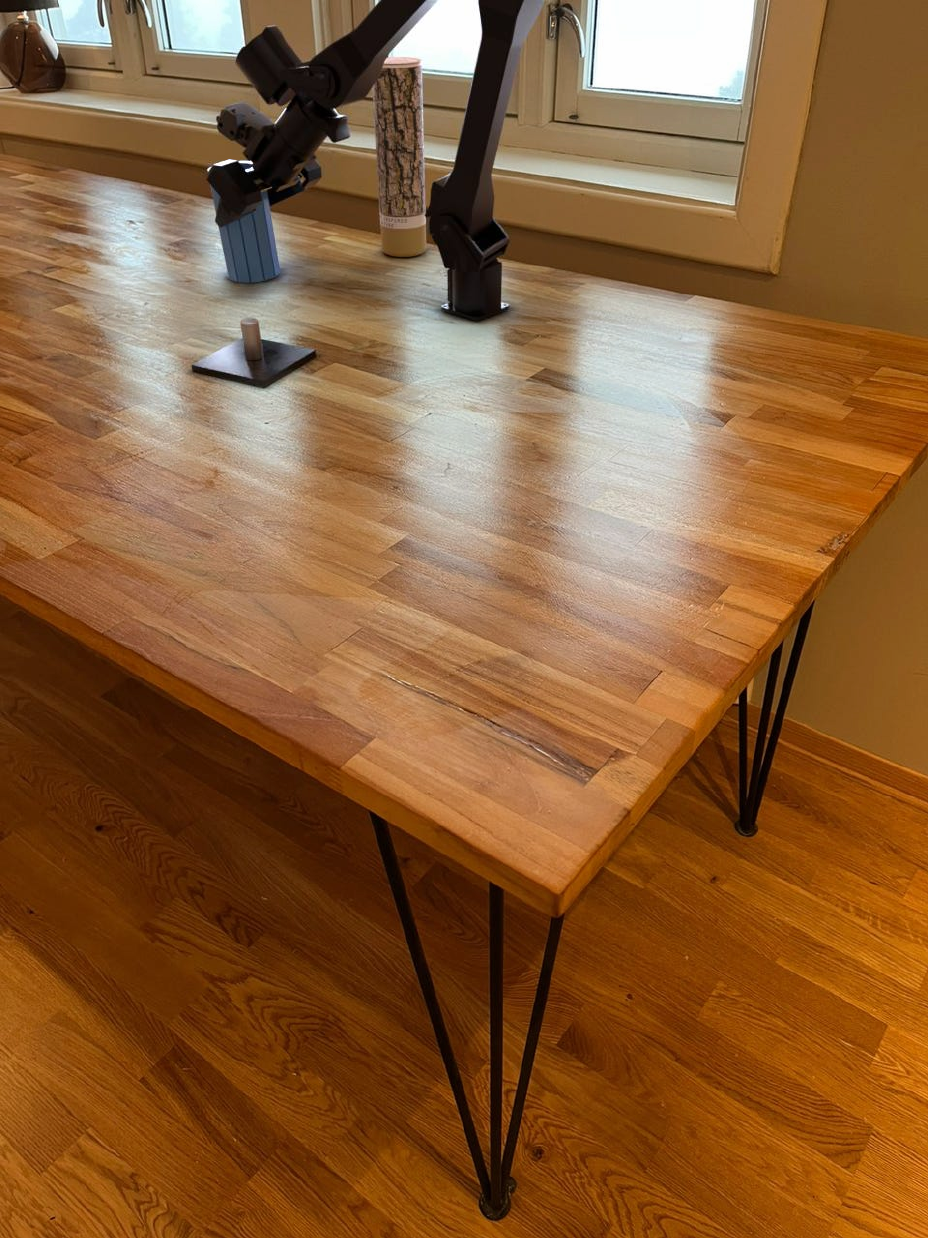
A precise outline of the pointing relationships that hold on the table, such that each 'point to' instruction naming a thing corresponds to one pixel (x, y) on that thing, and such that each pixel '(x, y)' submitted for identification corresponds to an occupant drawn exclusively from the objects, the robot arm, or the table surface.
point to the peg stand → (254, 358)
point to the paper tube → (400, 156)
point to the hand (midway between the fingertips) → (236, 216)
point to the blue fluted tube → (249, 241)
